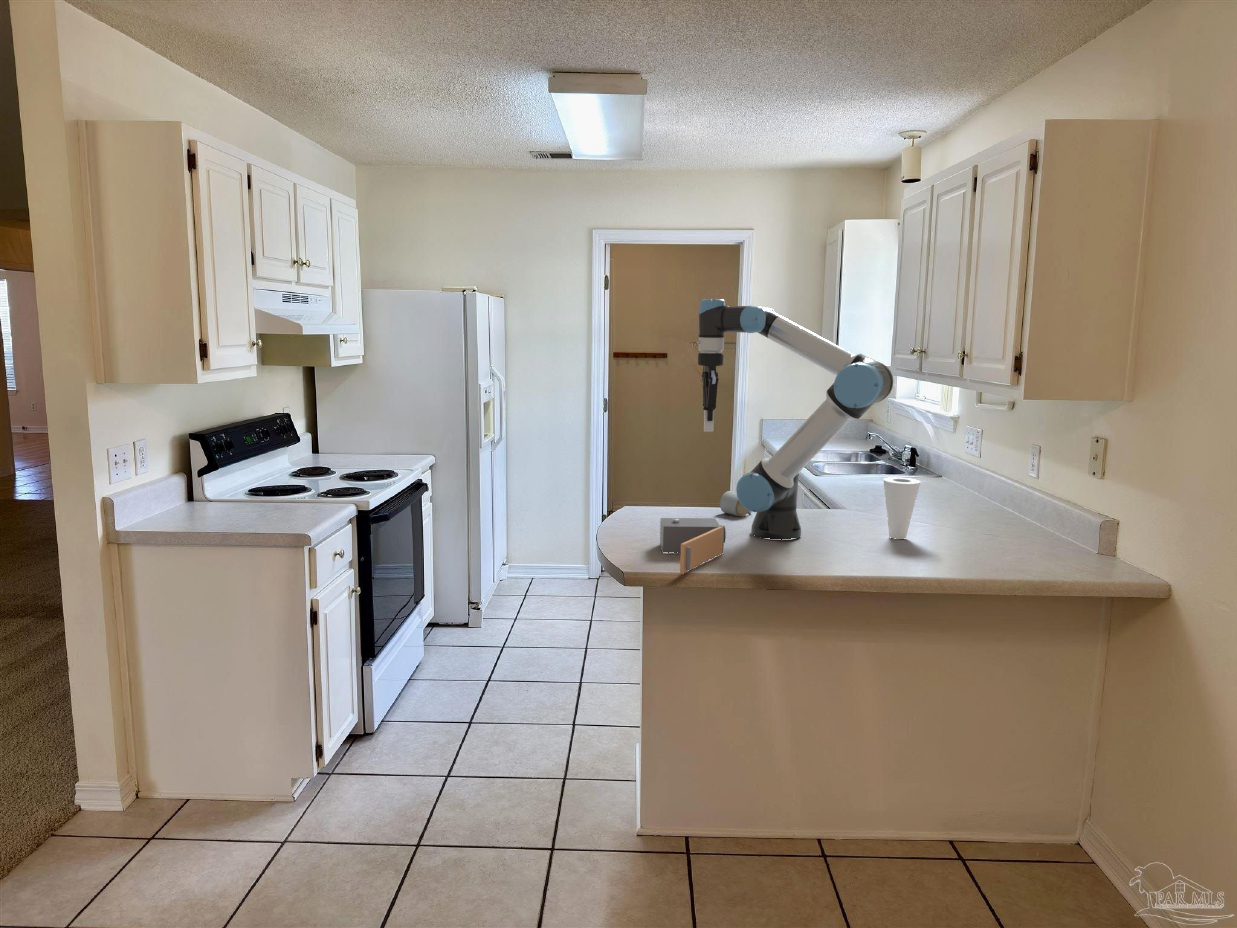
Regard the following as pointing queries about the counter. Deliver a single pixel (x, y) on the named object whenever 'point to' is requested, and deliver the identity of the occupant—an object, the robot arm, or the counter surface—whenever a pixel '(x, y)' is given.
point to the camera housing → (683, 531)
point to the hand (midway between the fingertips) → (708, 431)
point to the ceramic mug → (732, 504)
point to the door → (701, 549)
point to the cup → (900, 504)
